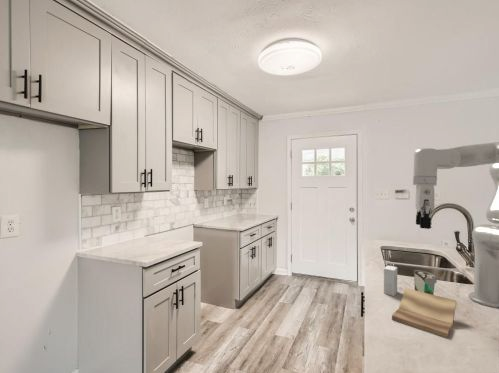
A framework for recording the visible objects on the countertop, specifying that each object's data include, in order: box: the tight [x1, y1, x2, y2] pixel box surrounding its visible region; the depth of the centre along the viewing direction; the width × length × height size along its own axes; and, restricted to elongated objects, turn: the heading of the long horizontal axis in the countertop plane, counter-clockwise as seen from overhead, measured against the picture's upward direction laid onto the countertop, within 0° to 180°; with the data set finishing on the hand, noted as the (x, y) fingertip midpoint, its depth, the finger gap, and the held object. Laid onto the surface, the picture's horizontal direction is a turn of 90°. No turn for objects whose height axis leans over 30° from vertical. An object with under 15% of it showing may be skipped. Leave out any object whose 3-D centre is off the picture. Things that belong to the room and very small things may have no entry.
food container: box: [413, 269, 438, 295], centre depth 117 cm, size 12×6×10 cm, turn 168°
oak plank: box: [398, 287, 457, 327], centre depth 99 cm, size 10×16×2 cm
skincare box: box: [383, 265, 398, 297], centre depth 119 cm, size 6×4×12 cm
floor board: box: [391, 307, 453, 339], centre depth 97 cm, size 20×18×2 cm
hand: (422, 226), depth 104 cm, fingers open, 9 cm apart
